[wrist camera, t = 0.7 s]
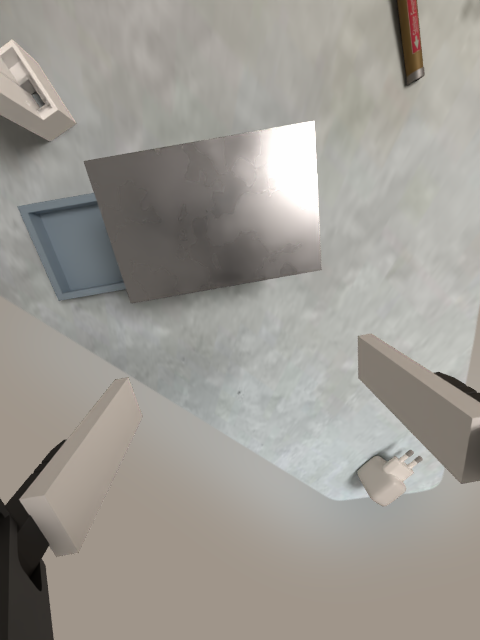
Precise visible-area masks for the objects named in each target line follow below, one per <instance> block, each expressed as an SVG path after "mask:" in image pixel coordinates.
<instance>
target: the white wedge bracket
mask: <svg viewBox="0 0 480 640" xmlns="http://www.w3.org/2000/svg"><path fill="white" fill-rule="evenodd" d="M35 91H37V93H38V94H39V96H40V97H41V99H42V100H43V102H44V103H45V105H44V106H42V107H41V108H40V107H39V106H38V104H37V103H36V101H35V100H34V98H33V97H32V95H31V94H33V93H34V92H35ZM0 115H1V116H3V117H5V118H7V119H9V120H11V121H12V122H14V123H16V124H18V125H20V126H22V127H24V128H26V129H27V130H29V131H31V132H33V133H35V134H37V135H39V136H41V137H42V138H44V139H46V140H48V141H50V142H51V141H52V140H54V139H55V138H56V137H58V136H59V135H61V134H62V133H64V132H65V131H67V130H68V129H69V128H71V127H72V126H74V125H75V124H77V123H76V122H75V120H74V119H73V117H72V115H71V114H70V112H69V111H68V109H67V108H66V106H65V104H64V103H63V101H62V100H61V98H60V97H59V95H58V94H57V92H56V90H55V89H54V87H53V86H52V84H51V83H50V81H49V80H48V78H47V76H46V75H45V73H44V72H43V70H42V69H41V67H40V66H39V64H38V62H36V61H35V60H34V59H33V58H32V57H31V56H30V55H29V54H28V53H27V52H26V51H24V50H23V49H22V48H21V47H20V46H19V45H18V44H17V43H16V42H15V41H14V40H13V39H12V40H11V41H9V42H8V43H7V44H5V45H4V46H3V47H2V48H0Z"/></svg>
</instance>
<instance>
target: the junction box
mask: <svg viewBox="0 0 480 640" xmlns="http://www.w3.org/2000/svg"><path fill="white" fill-rule="evenodd" d="M84 164H85V167H86V170H87V173H88V176H89V179H90V182H91V185H92V188H93V191H94V194H95V197H96V200H97V203H98V206H99V209H100V212H101V215H102V218H103V221H104V224H105V227H106V230H107V233H108V236H109V239H110V242H111V245H112V248H113V251H114V254H115V257H116V260H117V263H118V266H119V269H120V272H121V275H122V278H123V281H124V284H125V287H126V290H127V293H128V296H129V299H130V302H131V303H136V302H142V301H148V300H153V299H159V298H165V297H170V296H176V295H182V294H187V293H193V292H199V291H204V290H210V289H216V288H222V287H227V286H233V285H239V284H244V283H250V282H256V281H261V280H267V279H273V278H279V277H284V276H290V275H296V274H301V273H307V272H313V271H318V270H322V269H321V248H320V227H319V206H318V185H317V164H316V143H315V122H314V121H311V122H305V123H299V124H294V125H288V126H282V127H276V128H271V129H265V130H259V131H253V132H248V133H242V134H236V135H231V136H225V137H219V138H213V139H208V140H202V141H196V142H191V143H185V144H179V145H173V146H168V147H162V148H156V149H150V150H145V151H139V152H133V153H128V154H122V155H116V156H110V157H105V158H99V159H93V160H88V161H84Z"/></svg>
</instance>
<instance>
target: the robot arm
mask: <svg viewBox="0 0 480 640" xmlns="http://www.w3.org/2000/svg"><path fill="white" fill-rule="evenodd" d="M358 378H359V379H360V380H361V381H362V382H363V383H364V384H365V385H366V386H367V387H368V388H369V389H370V390H371V391H372V392H373V393H374V395H375V396H376V397H377V398H378V399H379V400H380V401H381V402H382V403H383V404H384V405H385V406H386V407H387V408H388V409H389V410H390V411H391V412H392V413H393V414H394V415H395V416H396V417H397V418H398V419H399V420H400V421H401V422H402V423H403V424H404V425H405V426H406V428H407V429H408V430H409V431H410V432H411V433H412V434H413V435H414V436H415V437H416V438H417V439H418V440H419V441H420V442H421V443H422V444H423V445H424V446H425V447H426V448H427V449H428V450H429V451H430V452H431V453H432V454H433V455H434V456H435V457H436V458H437V459H438V461H439V462H440V463H441V464H442V465H443V466H444V467H445V468H446V469H447V470H448V471H449V472H450V473H451V474H452V475H453V476H454V477H455V478H456V479H457V480H458V481H459V482H460V483H461V484H463V483H469V482H474V481H480V393H477V392H476V391H475V390H474V389H472V388H471V387H467V386H466V384H464V383H462V382H460V381H459V380H457V379H455V378H454V377H451V376H448V375H446V374H443V373H440V372H436V373H432V372H431V371H429V370H428V369H426V368H425V367H423V366H421V365H420V364H418V363H417V362H415V361H414V360H412V359H410V358H409V357H407V356H406V355H404V354H403V353H401V352H399V351H398V350H396V349H395V348H393V347H392V346H390V345H388V344H387V343H385V342H384V341H382V340H381V339H379V338H377V337H376V336H374V335H373V334H366V335H361V336H358ZM142 417H143V416H142V413H141V410H140V408H139V405H138V402H137V399H136V397H135V394H134V391H133V389H132V386H131V383H130V381H129V377H127V378H121V379H115V380H114V381H113V383H112V384H111V385H110V387H109V388H108V389H107V390H106V392H105V393H104V394H103V395H102V396H101V398H100V399H99V400H98V401H97V403H96V404H95V405H94V406H93V408H92V409H91V410H90V412H89V413H88V414H87V415H86V417H85V418H84V419H83V420H82V422H81V423H80V424H79V425H78V427H77V428H76V429H75V430H74V432H73V433H72V434H71V435H70V437H69V438H68V439H67V440H63V441H62V442H61V443H60V444H58V445H57V446H56V447H55V448H53V449H52V450H51V451H50V453H49V454H48V455H47V456H46V457H45V458H44V460H43V461H42V464H39V466H38V467H37V468H36V469H35V470H34V473H33V474H31V475H30V476H29V478H28V479H27V480H26V481H25V482H24V484H23V485H22V486H21V487H20V488H19V490H18V491H17V492H16V493H15V494H14V496H13V497H12V498H11V499H10V500H9V502H8V503H7V504H6V505H4V503H3V502H2V501H1V499H0V640H54V639H53V630H52V621H51V613H50V603H49V594H48V585H47V576H46V566H45V564H44V562H43V560H42V559H41V558H42V557H43V555H44V553H45V552H46V550H47V548H48V546H50V548H51V549H52V551H53V552H54V554H55V555H56V557H57V556H63V555H69V554H74V553H79V551H80V549H81V547H82V544H83V542H84V540H85V538H86V536H87V534H88V532H89V530H90V528H91V526H92V523H93V521H94V519H95V517H96V515H97V513H98V511H99V509H100V507H101V504H102V502H103V500H104V498H105V496H106V494H107V492H108V489H109V487H110V485H111V483H112V481H113V479H114V477H115V475H116V473H117V470H118V468H119V466H120V464H121V462H122V460H123V458H124V456H125V453H126V451H127V449H128V447H129V445H130V443H131V441H132V439H133V436H134V434H135V432H136V430H137V428H138V426H139V424H140V422H141V420H142Z"/></svg>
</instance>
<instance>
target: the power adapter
mask: <svg viewBox="0 0 480 640" xmlns="http://www.w3.org/2000/svg"><path fill="white" fill-rule="evenodd" d="M413 454H414V452H413V451H412V450H409V451H408V452H407V453H405V455H403V456H402V457H400V458H397V457H395V456H394V457H393V458H392V459H390V460H389V461H388V462H387V461H386V460H384V459H383V458H381V457H380V456H378V455H377V456H374V457H373V458H371V459H370V460H369V461H368V462H367V463H365V464H364V465H363V466H362V467H361V468H360V469H359V470H358V472H357V473H358V476H359V478H360V480H361V482H362V484H363V486H364V488H365V489H366V491H367V493H368V495H369V496H370V498H371V499H372V500H373V501H375V502H376V503H378V504H380V505H381V506H387V505H388V504H390V503H391V502H393V501H394V500H395V499H397V498H398V497H399V496H400V495H402V494H403V493H404V492H405V491H406V486H405V484H404V483H403V481H404V480H405V479H407V478H408V477H409V476H411V475H412V474H413V473H414V472H413V470H412V468H413V467H414V466H415V465H416V464H417V463H419V462H420V461H422V457H421V456H418V457H417V458H416V459H414V460H413V461H412V462H411V463H409V464H408V465H407V464H406V463H405V462H404V461H405V460H406V459H407V458H408V457H410V456H411V455H413Z"/></svg>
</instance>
